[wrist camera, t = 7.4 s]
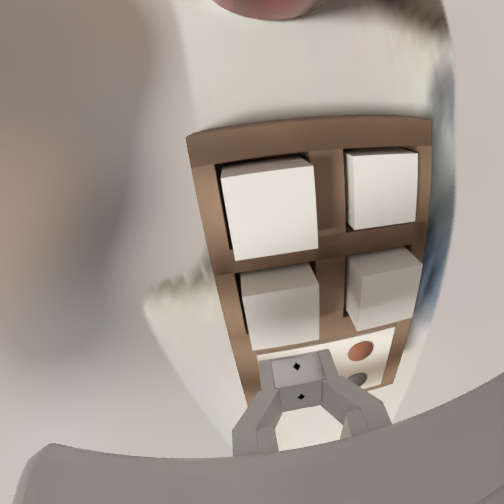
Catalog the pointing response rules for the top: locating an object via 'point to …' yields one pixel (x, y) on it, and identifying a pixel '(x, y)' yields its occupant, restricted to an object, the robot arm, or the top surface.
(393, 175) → the button
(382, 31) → the top surface
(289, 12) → the soda can
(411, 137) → the button board
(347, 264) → the button
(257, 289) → the button
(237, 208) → the button
